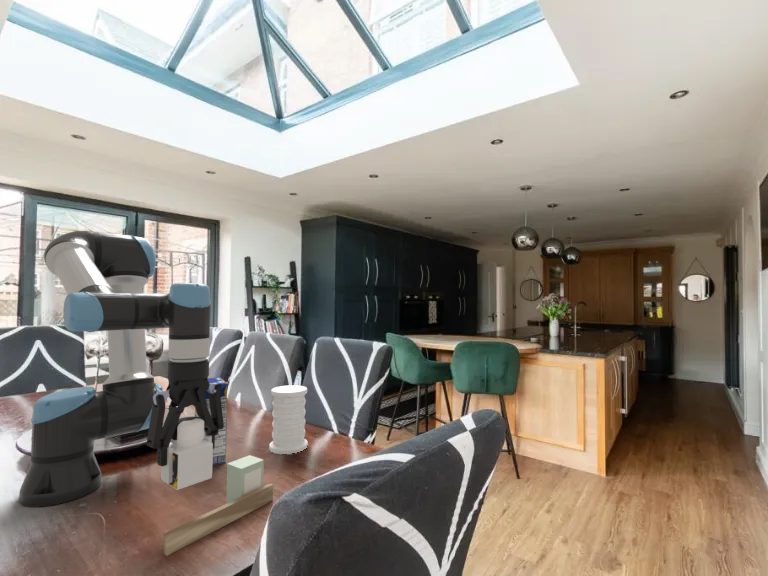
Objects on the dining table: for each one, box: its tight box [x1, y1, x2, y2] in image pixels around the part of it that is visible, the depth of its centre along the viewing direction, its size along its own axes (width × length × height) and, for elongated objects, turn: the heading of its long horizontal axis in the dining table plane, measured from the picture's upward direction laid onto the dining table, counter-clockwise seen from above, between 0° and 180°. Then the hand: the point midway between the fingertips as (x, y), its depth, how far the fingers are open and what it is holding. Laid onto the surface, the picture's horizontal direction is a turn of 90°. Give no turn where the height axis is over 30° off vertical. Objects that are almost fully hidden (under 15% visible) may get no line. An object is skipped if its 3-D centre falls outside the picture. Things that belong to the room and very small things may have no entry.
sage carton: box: [226, 454, 265, 504], centre depth 90 cm, size 5×6×9 cm
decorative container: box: [268, 384, 309, 455], centre depth 124 cm, size 12×12×18 cm
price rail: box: [162, 483, 274, 557], centre depth 81 cm, size 2×24×4 cm, turn 147°
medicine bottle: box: [164, 416, 213, 491], centre depth 81 cm, size 7×7×12 cm
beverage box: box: [194, 376, 228, 466], centre depth 115 cm, size 7×11×22 cm, turn 32°
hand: (187, 473), depth 80 cm, fingers closed on medicine bottle, 7 cm apart
